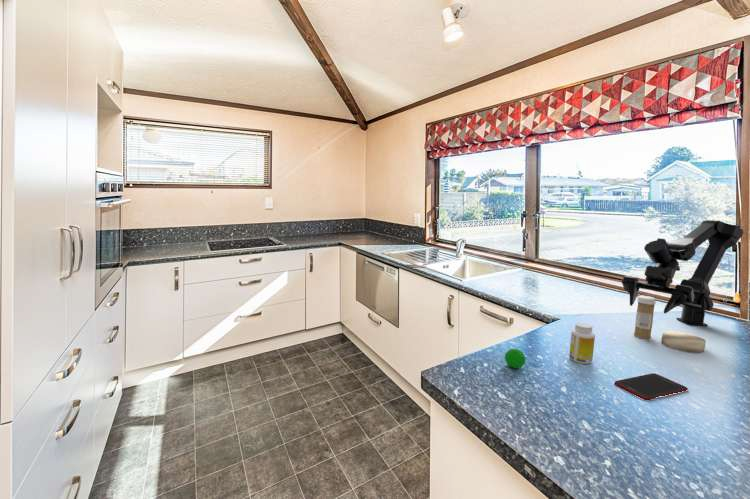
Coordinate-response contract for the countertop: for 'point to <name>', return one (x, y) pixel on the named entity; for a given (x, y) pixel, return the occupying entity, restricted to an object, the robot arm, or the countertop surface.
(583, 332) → the supplement bottle
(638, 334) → the sprinkles bottle
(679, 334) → the round beige base
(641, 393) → the cell phone
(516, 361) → the green ball
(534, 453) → the countertop surface
